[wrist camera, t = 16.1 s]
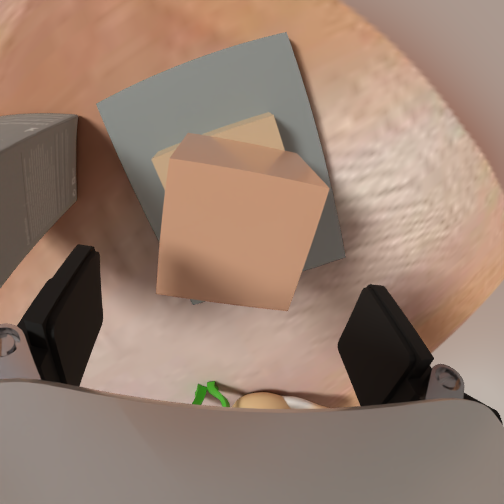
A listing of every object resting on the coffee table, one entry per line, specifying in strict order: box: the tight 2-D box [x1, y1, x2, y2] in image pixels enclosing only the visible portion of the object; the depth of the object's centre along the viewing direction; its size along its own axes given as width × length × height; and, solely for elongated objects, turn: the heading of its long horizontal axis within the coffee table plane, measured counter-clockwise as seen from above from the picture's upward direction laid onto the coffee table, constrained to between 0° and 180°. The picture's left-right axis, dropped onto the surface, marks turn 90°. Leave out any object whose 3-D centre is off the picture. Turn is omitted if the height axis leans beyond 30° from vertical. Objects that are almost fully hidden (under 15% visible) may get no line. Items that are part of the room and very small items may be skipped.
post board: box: [96, 32, 346, 305], centre depth 18 cm, size 16×12×6 cm
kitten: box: [192, 381, 328, 409], centre depth 27 cm, size 15×10×15 cm
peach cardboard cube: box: [156, 133, 330, 311], centre depth 15 cm, size 6×6×6 cm
